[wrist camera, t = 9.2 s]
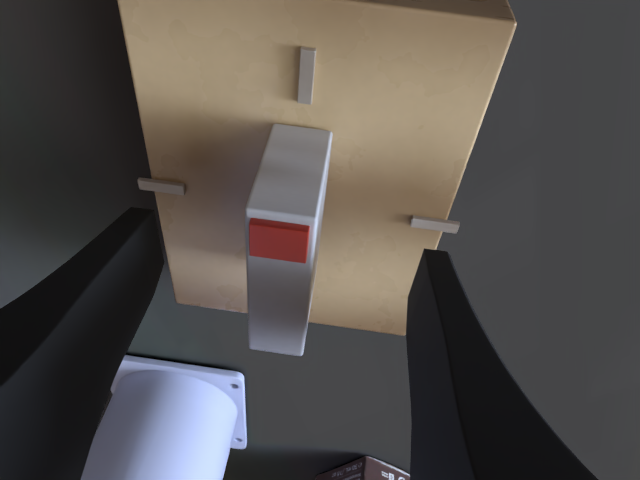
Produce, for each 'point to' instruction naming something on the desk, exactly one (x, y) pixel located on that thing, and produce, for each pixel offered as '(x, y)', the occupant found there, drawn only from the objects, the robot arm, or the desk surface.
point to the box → (365, 471)
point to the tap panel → (317, 113)
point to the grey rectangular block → (285, 236)
